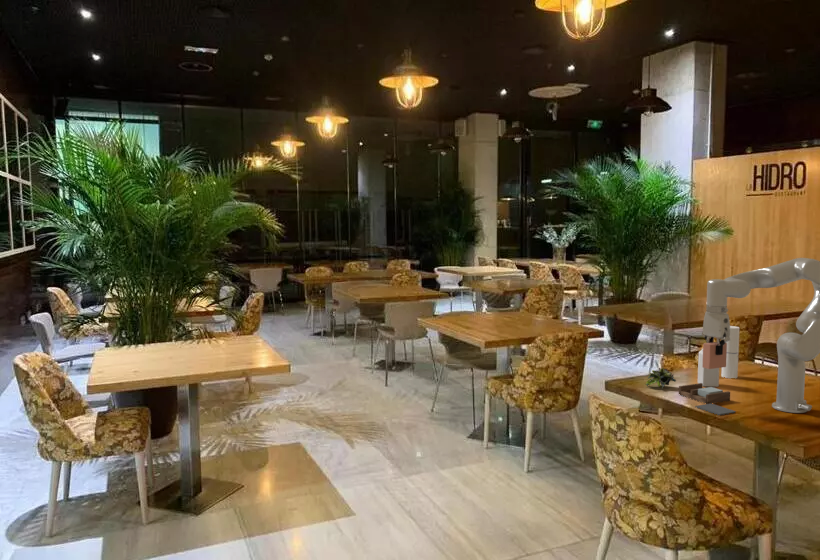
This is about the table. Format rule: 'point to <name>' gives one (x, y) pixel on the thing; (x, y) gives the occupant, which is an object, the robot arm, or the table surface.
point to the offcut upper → (708, 391)
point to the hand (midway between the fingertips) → (714, 353)
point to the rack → (692, 393)
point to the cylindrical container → (732, 354)
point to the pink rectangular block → (713, 356)
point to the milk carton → (707, 373)
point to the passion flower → (660, 377)
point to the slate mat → (715, 409)
